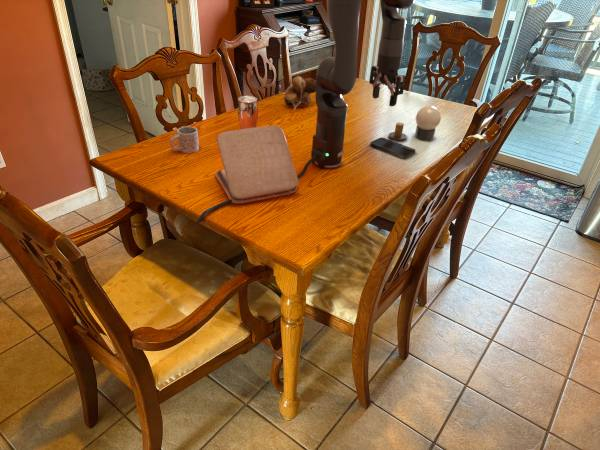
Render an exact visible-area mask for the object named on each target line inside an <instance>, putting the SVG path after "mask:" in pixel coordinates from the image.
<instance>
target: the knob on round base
mask: <svg viewBox="0 0 600 450" xmlns="http://www.w3.org/2000/svg"><path fill="white" fill-rule="evenodd" d="M404 125H405V124H404V123H403V122H396V123H395V127H394V131H392V132H389V133H388V140H391V141H394V142H396V143H399V142H405V141H407V139H408V135H407V134H406V133H403V131H404V127H405V126H404Z"/></svg>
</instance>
